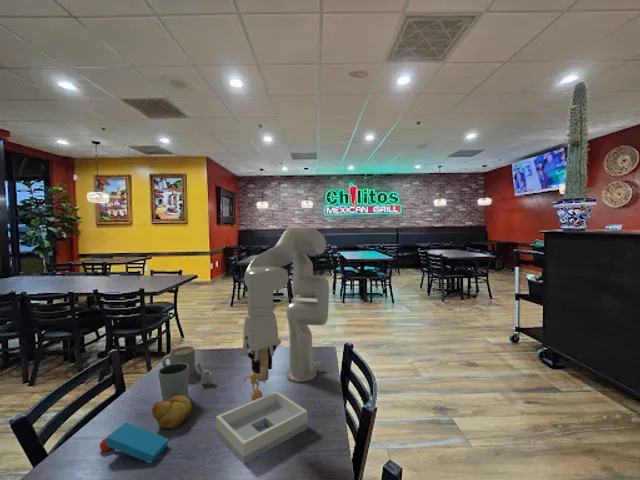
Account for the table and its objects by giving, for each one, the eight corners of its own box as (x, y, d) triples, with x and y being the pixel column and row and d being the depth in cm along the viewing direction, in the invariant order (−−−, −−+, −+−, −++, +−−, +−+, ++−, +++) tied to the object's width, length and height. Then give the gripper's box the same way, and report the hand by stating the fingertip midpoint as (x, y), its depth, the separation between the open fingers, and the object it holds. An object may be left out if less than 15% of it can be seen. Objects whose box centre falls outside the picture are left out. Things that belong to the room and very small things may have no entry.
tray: (276, 406, 111) (276, 391, 110) (307, 428, 98) (307, 411, 98) (216, 434, 96) (216, 416, 96) (243, 464, 83) (243, 443, 83)
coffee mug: (199, 367, 144) (198, 346, 143) (189, 377, 134) (188, 354, 134) (170, 367, 144) (169, 346, 144) (158, 377, 134) (157, 354, 134)
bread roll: (177, 407, 112) (177, 384, 111) (201, 411, 109) (200, 388, 109) (148, 429, 99) (148, 404, 99) (174, 434, 96) (173, 408, 96)
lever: (163, 461, 92) (110, 439, 94) (168, 439, 91) (115, 417, 94) (147, 479, 85) (90, 455, 87) (152, 455, 84) (95, 432, 87)
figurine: (269, 399, 116) (268, 366, 115) (263, 408, 110) (262, 374, 109) (248, 397, 117) (247, 365, 117) (241, 405, 111) (240, 372, 111)
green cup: (194, 399, 116) (193, 367, 116) (166, 411, 109) (164, 377, 108) (182, 390, 123) (181, 360, 123) (155, 401, 116) (153, 368, 115)
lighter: (212, 382, 129) (211, 363, 129) (209, 384, 127) (209, 365, 127) (197, 381, 131) (196, 362, 130) (194, 383, 129) (193, 363, 129)
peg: (264, 374, 99) (263, 343, 99) (270, 378, 96) (270, 346, 96) (254, 378, 96) (253, 346, 96) (260, 382, 94) (259, 349, 94)
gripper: (276, 304, 104) (277, 359, 105) (229, 313, 93) (231, 375, 94) (290, 307, 99) (291, 365, 99) (242, 318, 87) (243, 383, 88)
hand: (262, 369), depth 96 cm, fingers closed on peg, 3 cm apart
